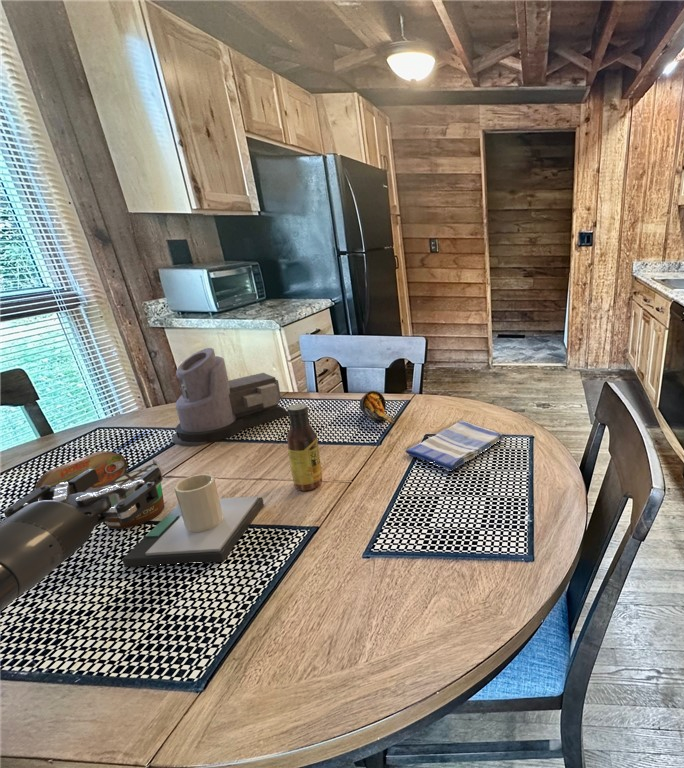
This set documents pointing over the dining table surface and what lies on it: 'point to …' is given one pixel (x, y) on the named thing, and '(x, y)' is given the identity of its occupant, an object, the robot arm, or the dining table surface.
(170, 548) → the kitchen scale
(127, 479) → the food container
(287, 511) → the dining table surface
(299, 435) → the sauce bottle
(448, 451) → the dish towel
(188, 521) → the cup
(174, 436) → the juicer
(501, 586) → the dining table surface
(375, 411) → the fried shrimp in bowl
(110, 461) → the tin
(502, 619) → the dining table surface
